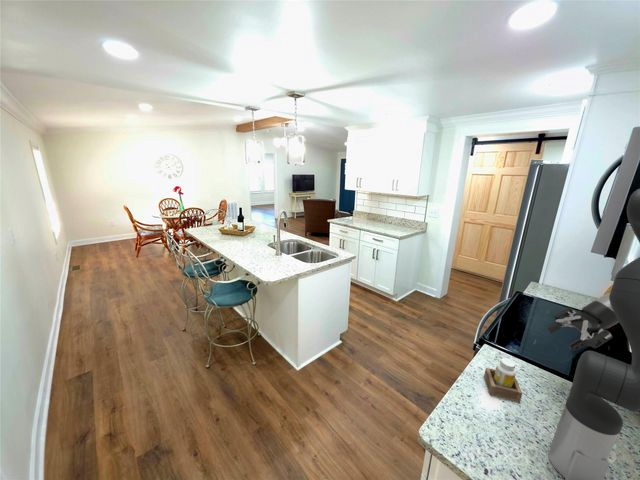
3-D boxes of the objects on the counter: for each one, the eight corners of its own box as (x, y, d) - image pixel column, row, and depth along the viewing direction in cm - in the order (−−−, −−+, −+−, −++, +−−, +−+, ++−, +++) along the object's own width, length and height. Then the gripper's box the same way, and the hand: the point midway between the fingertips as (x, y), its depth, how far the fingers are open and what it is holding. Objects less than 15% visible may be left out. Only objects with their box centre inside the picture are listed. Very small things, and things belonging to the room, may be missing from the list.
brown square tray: (519, 402, 85) (522, 393, 83) (489, 395, 87) (492, 385, 86) (511, 382, 92) (513, 373, 91) (483, 376, 95) (485, 367, 94)
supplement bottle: (490, 383, 90) (495, 361, 87) (496, 376, 93) (501, 354, 90) (508, 394, 86) (515, 370, 83) (514, 385, 89) (520, 362, 86)
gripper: (581, 291, 86) (536, 319, 90) (625, 314, 73) (570, 346, 77) (593, 306, 87) (548, 333, 91) (639, 332, 74) (584, 362, 78)
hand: (558, 339), depth 84 cm, fingers open, 8 cm apart
